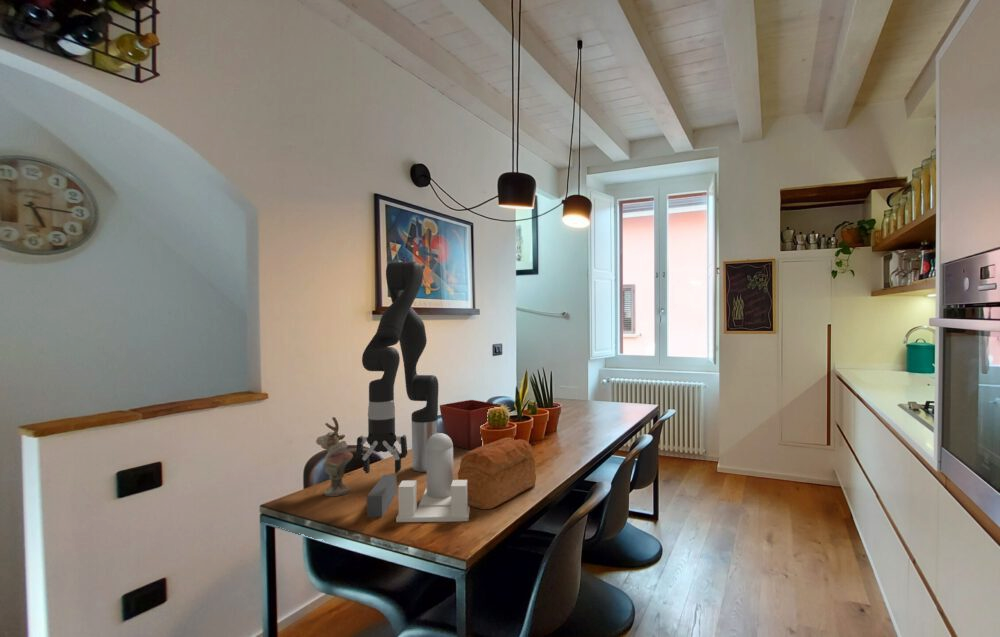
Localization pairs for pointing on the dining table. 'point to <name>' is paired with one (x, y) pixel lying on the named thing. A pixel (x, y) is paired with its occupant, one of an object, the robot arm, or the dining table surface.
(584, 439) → the dining table surface
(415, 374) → the robot arm
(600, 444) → the dining table surface
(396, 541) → the dining table surface
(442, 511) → the display stand
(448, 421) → the plant pot
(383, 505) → the gray bar
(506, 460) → the bread
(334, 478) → the decorative bust
